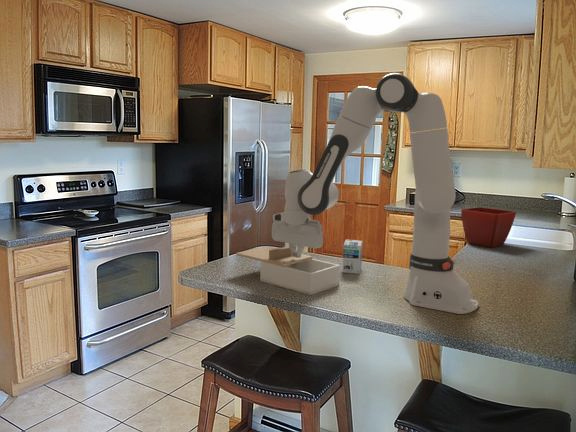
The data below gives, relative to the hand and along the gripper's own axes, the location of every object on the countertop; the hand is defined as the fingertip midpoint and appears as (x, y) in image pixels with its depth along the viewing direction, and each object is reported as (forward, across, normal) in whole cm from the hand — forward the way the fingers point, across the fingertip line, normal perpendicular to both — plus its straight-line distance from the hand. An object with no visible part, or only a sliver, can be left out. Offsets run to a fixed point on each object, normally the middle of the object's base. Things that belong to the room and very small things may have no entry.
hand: (296, 257), depth 172 cm
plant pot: (+10, -24, -118) cm, 121 cm away
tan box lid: (+2, +10, 0) cm, 10 cm away
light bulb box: (+9, -5, -28) cm, 30 cm away
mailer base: (+9, -2, 0) cm, 9 cm away
